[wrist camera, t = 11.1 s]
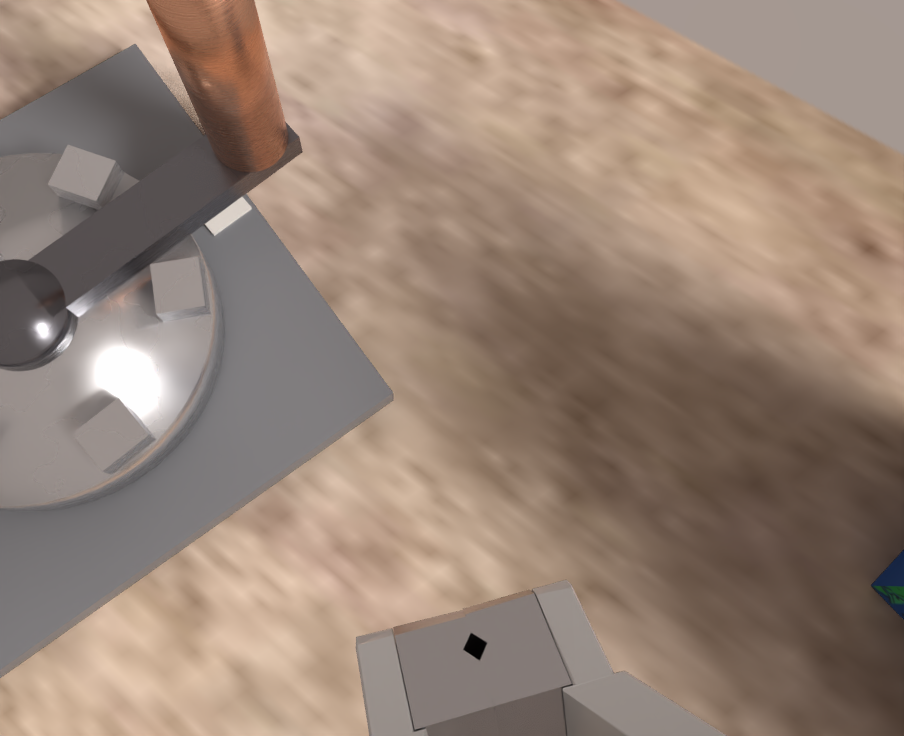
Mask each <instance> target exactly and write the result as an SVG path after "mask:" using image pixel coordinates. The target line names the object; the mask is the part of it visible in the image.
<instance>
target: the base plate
mask: <svg viewBox="0 0 904 736" xmlns="http://www.w3.org/2000/svg"><path fill="white" fill-rule="evenodd" d="M202 136H203V135H202V133H201V132H200V131H199V129H198V128H197V126H196V125H195V124H194V122H193V121H192V120H191V118H190V117H189V116H188V114H187V113H186V112H185V110H184V109H183V108H182V106H181V105H180V103H179V102H178V101H177V99H176V98H175V97H174V95H173V94H172V93H171V91H170V90H169V89H168V87H167V86H166V85H165V83H164V82H163V80H162V79H161V78H160V76H159V75H158V74H157V72H156V71H155V70H154V68H153V67H152V66H151V64H150V63H149V62H148V60H147V59H146V57H145V56H144V55H143V53H142V52H141V51H140V49H139V48H138V47H137V45H136V44H134V45H132V46H130V47H129V48H127V49H125V50H123V51H121V52H120V53H118V54H116V55H114V56H113V57H111V58H109V59H107V60H106V61H104V62H102V63H100V64H98V65H97V66H95V67H93V68H91V69H90V70H88V71H86V72H84V73H83V74H81V75H79V76H77V77H75V78H74V79H72V80H70V81H68V82H67V83H65V84H63V85H61V86H60V87H58V88H56V89H54V90H52V91H51V92H49V93H47V94H45V95H44V96H42V97H40V98H38V99H36V100H35V101H33V102H31V103H29V104H28V105H26V106H24V107H22V108H21V109H19V110H17V111H15V112H13V113H12V114H10V115H8V116H6V117H5V118H3V119H1V120H0V157H3V156H8V155H17V154H28V153H53V154H63V153H64V151H65V149H66V147H67V145H71V146H74V147H77V148H79V149H82V150H85V151H88V152H91V153H94V154H97V155H100V156H103V157H106V158H109V159H112V160H115V161H116V162H117V163H118V164H119V166H120V167H121V169H122V170H123V172H125V173H126V174H128V175H130V176H132V177H133V178H135V179H137V180H139V181H140V180H142V179H143V178H145V177H146V176H147V175H149V174H150V173H152V172H153V171H155V170H156V169H157V168H159V167H160V166H162V165H163V164H164V163H166V162H167V161H169V160H170V159H171V158H173V157H174V156H176V155H177V154H178V153H180V152H181V151H183V150H184V149H185V148H187V147H188V146H190V145H191V144H193V143H194V142H195V141H197V140H198V139H200V138H201V137H202ZM191 235H192V236H193V238H194V240H195V241H196V243H197V244H198V246H199V248H200V249H201V251H202V252H203V254H204V256H205V258H206V260H207V262H208V263H209V265H210V267H211V269H212V271H213V274H214V277H215V279H216V282H217V285H218V287H219V291H220V295H221V300H222V304H223V309H224V322H225V339H224V352H223V357H222V362H221V367H220V372H219V375H218V378H217V381H216V384H215V387H214V389H213V392H212V395H211V397H210V399H209V401H208V403H207V405H206V407H205V409H204V411H203V413H202V415H201V416H200V418H199V419H198V421H197V422H196V424H195V425H194V427H193V428H192V430H191V431H190V433H189V434H188V435H187V436H186V437H185V439H184V440H183V441H182V442H181V443H180V444H179V445H178V447H177V448H176V449H175V450H174V451H173V452H172V453H171V454H170V455H169V456H168V457H167V458H165V459H164V460H163V461H162V462H161V463H160V464H159V465H158V466H157V467H155V468H154V469H153V470H151V471H150V472H148V473H147V474H146V475H144V476H143V477H141V478H140V479H138V480H137V481H136V482H134V483H132V484H130V485H128V486H126V487H124V488H123V489H121V490H119V491H117V492H115V493H113V494H111V495H108V496H105V497H103V498H100V499H98V500H95V501H93V502H90V503H86V504H82V505H78V506H74V507H70V508H65V509H57V510H49V511H13V510H5V509H0V678H1V677H3V676H4V675H5V674H7V673H8V672H10V671H11V670H12V669H14V668H15V667H17V666H18V665H19V664H21V663H22V662H24V661H25V660H27V659H28V658H29V657H31V656H32V655H34V654H35V653H36V652H38V651H39V650H41V649H42V648H44V647H45V646H46V645H48V644H49V643H51V642H52V641H53V640H55V639H56V638H58V637H59V636H61V635H62V634H63V633H65V632H66V631H68V630H69V629H70V628H72V627H73V626H75V625H76V624H77V623H79V622H80V621H82V620H83V619H85V618H86V617H87V616H89V615H90V614H92V613H93V612H94V611H96V610H97V609H99V608H100V607H102V606H103V605H104V604H106V603H107V602H109V601H110V600H111V599H113V598H114V597H116V596H117V595H119V594H120V593H121V592H123V591H124V590H126V589H127V588H128V587H130V586H131V585H133V584H134V583H135V582H137V581H138V580H140V579H141V578H143V577H144V576H145V575H147V574H148V573H150V572H151V571H152V570H154V569H155V568H157V567H158V566H160V565H161V564H162V563H164V562H165V561H167V560H168V559H169V558H171V557H172V556H174V555H175V554H177V553H178V552H179V551H181V550H182V549H184V548H185V547H186V546H188V545H189V544H191V543H192V542H193V541H195V540H196V539H198V538H199V537H201V536H202V535H203V534H205V533H206V532H208V531H209V530H210V529H212V528H213V527H215V526H216V525H218V524H219V523H220V522H222V521H223V520H225V519H226V518H227V517H229V516H230V515H232V514H233V513H235V512H236V511H237V510H239V509H240V508H242V507H243V506H244V505H246V504H247V503H249V502H250V501H251V500H253V499H254V498H256V497H257V496H259V495H260V494H261V493H263V492H264V491H266V490H267V489H268V488H270V487H271V486H273V485H274V484H276V483H277V482H278V481H280V480H281V479H283V478H284V477H285V476H287V475H288V474H290V473H291V472H293V471H294V470H295V469H297V468H298V467H300V466H301V465H302V464H304V463H305V462H307V461H308V460H309V459H311V458H312V457H314V456H315V455H317V454H318V453H319V452H321V451H322V450H324V449H325V448H326V447H328V446H329V445H331V444H332V443H334V442H335V441H336V440H338V439H339V438H341V437H342V436H343V435H345V434H346V433H348V432H349V431H351V430H352V429H353V428H355V427H356V426H358V425H359V424H360V423H362V422H363V421H365V420H366V419H367V418H369V417H370V416H372V415H373V414H375V413H376V412H377V411H379V410H380V409H382V408H383V407H384V406H386V405H387V404H389V403H390V402H392V401H393V392H392V390H391V389H390V388H389V386H388V385H387V384H386V382H385V381H384V380H383V378H382V377H381V376H380V374H379V373H378V372H377V370H376V369H375V367H374V366H373V365H372V363H371V362H370V361H369V359H368V358H367V357H366V355H365V354H364V353H363V351H362V350H361V348H360V347H359V346H358V344H357V343H356V342H355V340H354V339H353V338H352V336H351V335H350V334H349V332H348V331H347V330H346V328H345V327H344V325H343V324H342V323H341V321H340V320H339V319H338V317H337V316H336V315H335V313H334V312H333V311H332V309H331V308H330V307H329V305H328V304H327V302H326V301H325V300H324V298H323V297H322V296H321V294H320V293H319V292H318V290H317V289H316V288H315V286H314V285H313V284H312V282H311V281H310V279H309V278H308V277H307V275H306V274H305V273H304V271H303V270H302V269H301V267H300V266H299V265H298V263H297V262H296V260H295V259H294V258H293V256H292V255H291V254H290V252H289V251H288V250H287V248H286V247H285V246H284V244H283V243H282V242H281V240H280V239H279V237H278V236H277V235H276V233H275V232H274V231H273V229H272V228H271V227H270V225H269V224H268V223H267V221H266V220H265V219H264V217H263V216H262V214H261V213H260V212H259V210H258V209H257V208H256V206H255V205H254V204H253V202H252V201H251V200H250V198H249V197H248V196H247V194H245V195H244V196H242V197H241V198H240V199H238V200H237V201H235V202H234V203H233V204H231V205H230V206H229V207H227V208H226V209H225V210H223V211H222V212H221V213H219V214H218V215H216V216H215V217H214V218H212V219H211V220H210V221H208V222H207V223H206V224H204V225H203V226H202V227H200V228H199V229H197V230H196V231H195V232H193V233H192V234H191Z"/></svg>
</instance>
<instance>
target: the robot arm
mask: <svg viewBox="0 0 904 736" xmlns="http://www.w3.org/2000/svg"><path fill="white" fill-rule="evenodd" d="M393 629H394V631H393ZM356 652H357V659H358V665H359V671H360V678H361V684H362V691H363V697H364V704H365V710H366V717H367V723H368V729H369V736H727V735H725V734H724V733H722V732H720V731H719V730H717V729H716V728H714V727H712V726H711V725H709V724H708V723H706V722H705V721H703V720H701V719H700V718H698V717H697V716H695V715H694V714H692V713H690V712H689V711H687V710H686V709H684V708H683V707H681V706H679V705H678V704H676V703H675V702H673V701H672V700H670V699H668V698H667V697H665V696H664V695H662V694H661V693H659V692H657V691H656V690H654V689H653V688H651V687H649V686H648V685H646V684H645V683H643V682H642V681H640V680H638V679H637V678H635V677H634V676H632V675H631V674H629V673H627V672H626V671H621V672H617V673H614V672H613V670H612V668H611V666H610V664H609V662H608V660H607V658H606V655H605V653H604V651H603V649H602V647H601V645H600V643H599V641H598V639H597V637H596V635H595V633H594V630H593V628H592V626H591V624H590V622H589V620H588V618H587V616H586V614H585V612H584V610H583V608H582V605H581V603H580V601H579V599H578V597H577V595H576V593H575V591H574V589H573V587H572V585H571V584H570V583H569V582H568V581H567V580H563V581H560V582H556V583H552V584H549V585H545V586H542V587H538V588H534V589H532V591H531V590H530V589H529V590H526V591H522V592H519V593H515V594H512V595H508V596H505V597H501V598H498V599H495V600H491V601H488V602H484V603H481V604H477V605H474V606H470V607H467V608H463V610H460V611H456V612H452V613H448V614H444V615H440V616H436V617H432V618H428V619H424V620H420V621H416V622H412V623H408V624H404V625H400V626H396V627H393V628H390V629H386V630H382V631H378V632H374V633H370V634H366V635H362V636H358V637H356Z"/></svg>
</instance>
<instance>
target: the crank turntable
mask: <svg viewBox="0 0 904 736" xmlns="http://www.w3.org/2000/svg"><path fill="white" fill-rule="evenodd" d="M146 1H147V3H148V5H149V7H150V10H151V12H152V14H153V16H154V19H155V21H156V23H157V25H158V28H159V30H160V32H161V34H162V37H163V39H164V41H165V43H166V46H167V48H168V50H169V52H170V55H171V57H172V59H173V61H174V64H175V66H176V68H177V70H178V73H179V75H180V77H181V79H182V82H183V84H184V86H185V88H186V91H187V93H188V95H189V97H190V100H191V102H192V104H193V106H194V109H195V111H196V113H197V115H198V118H199V120H200V122H201V124H202V127H203V129H204V131H205V133H206V134H205V135H204V136H202V137H201V138H200V139H198V140H197V141H195V142H194V143H193V144H191V145H190V146H188V147H187V148H185V149H184V150H183V151H181V152H180V153H178V154H177V155H176V156H174V157H173V158H171V159H170V160H169V161H167V162H166V163H164V164H163V165H162V166H160V167H159V168H157V169H156V170H155V171H153V172H152V173H150V174H149V175H147V176H146V177H145V178H143V179H142V180H140V181H139V180H137V179H135V178H133V177H132V176H130V175H128V174H126V173H125V172H123V170H122V169H121V167H120V166H119V164H118V163H117V162H116V161H115V160H112V159H109V158H106V157H103V156H100V155H97V154H94V153H91V152H88V151H85V150H82V149H79V148H77V147H74V146H71V145H67V147H66V149H65V151H64V153H63V154H53V153H28V154H17V155H8V156H3V157H0V509H5V510H13V511H49V510H57V509H65V508H70V507H74V506H78V505H82V504H86V503H90V502H93V501H95V500H98V499H100V498H103V497H105V496H108V495H111V494H113V493H115V492H117V491H119V490H121V489H123V488H124V487H126V486H128V485H130V484H132V483H134V482H136V481H137V480H138V479H140V478H141V477H143V476H144V475H146V474H147V473H148V472H150V471H151V470H153V469H154V468H155V467H157V466H158V465H159V464H160V463H161V462H162V461H163V460H164V459H165V458H167V457H168V456H169V455H170V454H171V453H172V452H173V451H174V450H175V449H176V448H177V447H178V445H179V444H180V443H181V442H182V441H183V440H184V439H185V437H186V436H187V435H188V434H189V433H190V431H191V430H192V428H193V427H194V425H195V424H196V422H197V421H198V419H199V418H200V416H201V415H202V413H203V411H204V409H205V407H206V405H207V403H208V401H209V399H210V397H211V395H212V392H213V389H214V387H215V384H216V381H217V378H218V375H219V372H220V367H221V362H222V357H223V352H224V339H225V322H224V309H223V304H222V300H221V295H220V291H219V287H218V285H217V282H216V279H215V277H214V274H213V271H212V269H211V267H210V265H209V263H208V262H207V260H206V258H205V256H204V254H203V252H202V251H201V249H200V248H199V246H198V244H197V243H196V241H195V240H194V238H193V236H192V235H191V234H192V233H193V232H195V231H196V230H197V229H199V228H200V227H202V226H203V225H204V224H206V223H207V222H208V221H210V220H211V219H212V218H214V217H215V216H216V215H218V214H219V213H221V212H222V211H223V210H225V209H226V208H227V207H229V206H230V205H231V204H233V203H234V202H235V201H237V200H238V199H240V198H241V197H242V196H244V195H245V194H246V193H248V192H249V191H250V190H252V189H253V188H254V187H256V186H257V185H258V184H260V183H261V182H263V181H264V180H265V179H267V178H268V177H269V176H271V175H272V174H273V173H275V172H276V171H277V170H279V169H280V168H282V167H283V166H284V165H286V164H287V163H288V162H290V161H291V160H292V159H294V158H295V157H296V156H298V155H299V154H301V153H302V147H301V143H300V139H299V136H298V135H297V134H296V133H295V132H294V131H293V130H292V129H291V128H290V126H289V125H288V124H287V123H286V122H285V119H284V115H283V111H282V107H281V103H280V99H279V95H278V91H277V88H276V84H275V80H274V76H273V72H272V68H271V64H270V60H269V56H268V52H267V48H266V45H265V41H264V37H263V33H262V29H261V25H260V21H259V17H258V13H257V9H256V6H255V2H254V0H146Z"/></svg>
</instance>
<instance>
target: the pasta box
mask: <svg viewBox="0 0 904 736" xmlns="http://www.w3.org/2000/svg"><path fill="white" fill-rule="evenodd" d="M871 586H872V587H873V588H874V590H875V591H876V592H877V593H878V594H879V595H880V596H881V597H882V598H883V599H884V600H885V601H886V602H887V603H888V604H889V605H890V606H891V607H892V608H893V609H894V610H895V611H896V612H897V613H898V614H899V615H900V616H901V617H902V618H903V620H904V550H903V551H902V552H901V553H900V554H899V555H898V557H897V558H896V559H895V560H894V561H893V562H892V563H891V564H890V565H889V566H888V567H887V569H886V570H885V571H884V572H883V573H882V574H881V575H880V576H879V577H878V578H877V579H876V581H875V582H874V583H873V584H872V585H871Z"/></svg>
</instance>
